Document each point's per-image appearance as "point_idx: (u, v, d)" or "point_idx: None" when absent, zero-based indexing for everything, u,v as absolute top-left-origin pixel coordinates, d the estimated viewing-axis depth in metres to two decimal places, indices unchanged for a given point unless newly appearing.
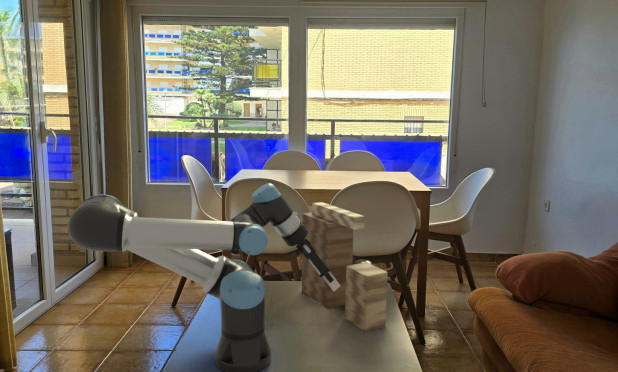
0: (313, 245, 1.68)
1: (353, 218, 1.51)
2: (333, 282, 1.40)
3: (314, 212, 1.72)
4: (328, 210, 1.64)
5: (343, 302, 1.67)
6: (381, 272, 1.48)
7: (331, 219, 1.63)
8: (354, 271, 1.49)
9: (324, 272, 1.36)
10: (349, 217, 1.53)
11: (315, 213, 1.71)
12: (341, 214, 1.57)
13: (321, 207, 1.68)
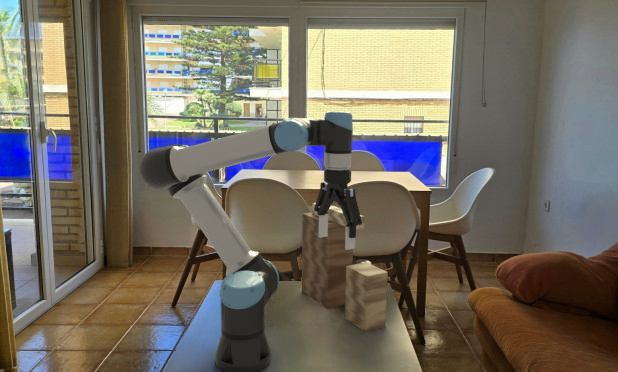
0: (313, 245, 1.68)
1: None
2: (351, 240, 1.28)
3: (314, 212, 1.72)
4: (328, 210, 1.64)
5: (343, 302, 1.67)
6: (381, 272, 1.48)
7: (331, 219, 1.63)
8: (354, 271, 1.49)
9: (357, 222, 1.24)
10: None
11: (315, 213, 1.71)
12: (341, 214, 1.57)
13: None
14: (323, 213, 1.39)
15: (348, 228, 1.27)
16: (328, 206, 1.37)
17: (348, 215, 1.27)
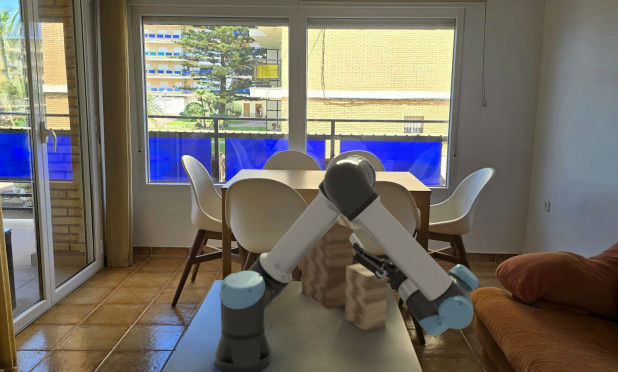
0: None
1: None
2: (354, 242, 1.43)
3: None
4: None
5: (343, 302, 1.67)
6: None
7: None
8: (354, 271, 1.49)
9: (356, 256, 1.38)
10: None
11: None
12: None
13: None
14: None
15: (361, 247, 1.40)
16: None
17: (368, 256, 1.38)
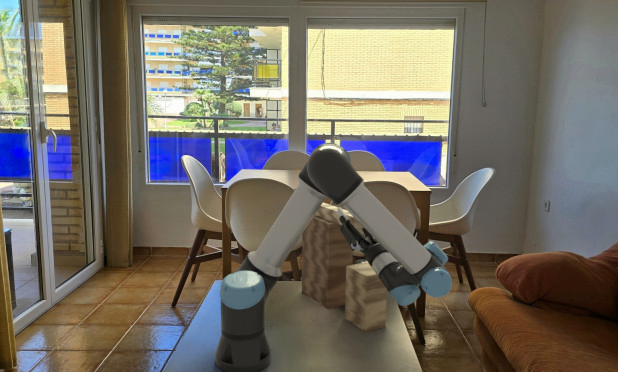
0: (313, 245, 1.68)
1: (353, 218, 1.51)
2: (340, 215, 1.56)
3: None
4: (328, 210, 1.64)
5: (343, 302, 1.67)
6: None
7: (331, 219, 1.63)
8: (354, 271, 1.49)
9: (341, 227, 1.51)
10: (349, 217, 1.53)
11: None
12: None
13: (321, 207, 1.68)
14: None
15: (346, 220, 1.53)
16: (364, 231, 1.53)
17: (350, 228, 1.51)
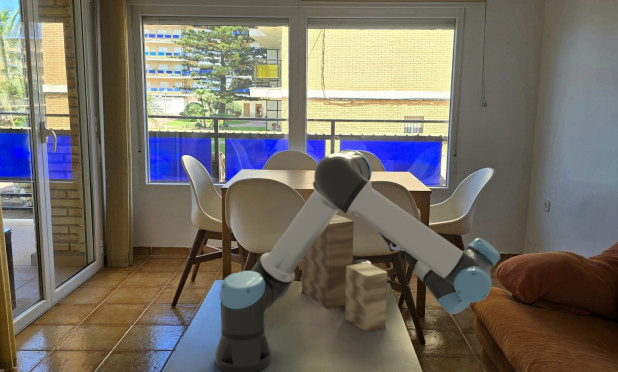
0: (313, 245, 1.68)
1: None
2: None
3: None
4: None
5: (343, 302, 1.67)
6: (381, 272, 1.48)
7: None
8: (354, 271, 1.49)
9: None
10: None
11: None
12: None
13: None
14: None
15: None
16: None
17: None
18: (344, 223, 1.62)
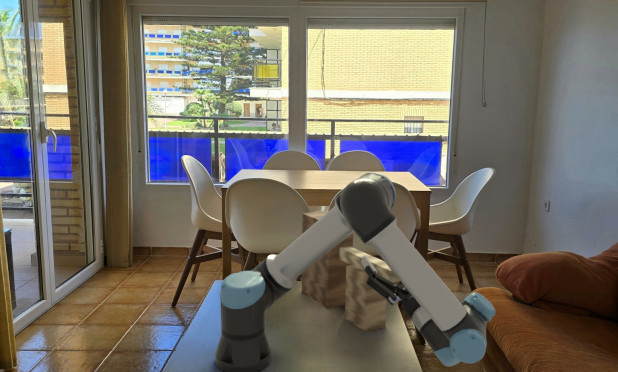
0: None
1: (388, 271, 1.38)
2: (366, 265, 1.39)
3: (341, 258, 1.59)
4: (358, 258, 1.50)
5: (343, 302, 1.67)
6: None
7: (362, 268, 1.49)
8: (354, 271, 1.49)
9: (369, 280, 1.34)
10: (383, 269, 1.40)
11: (342, 258, 1.58)
12: (374, 265, 1.44)
13: (350, 254, 1.54)
14: None
15: (373, 271, 1.36)
16: None
17: (380, 280, 1.34)
18: None
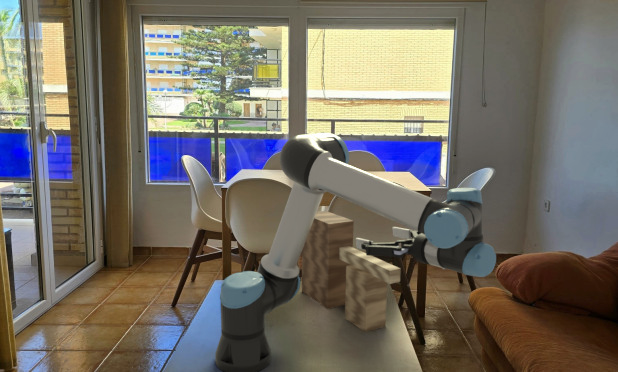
0: (313, 245, 1.68)
1: (388, 271, 1.38)
2: None
3: (341, 258, 1.59)
4: (358, 258, 1.50)
5: (343, 302, 1.67)
6: None
7: (362, 268, 1.49)
8: (354, 271, 1.49)
9: (367, 249, 1.22)
10: (383, 269, 1.40)
11: (342, 258, 1.58)
12: (374, 265, 1.44)
13: (350, 254, 1.54)
14: (411, 235, 1.32)
15: None
16: None
17: (380, 245, 1.22)
18: (344, 223, 1.62)
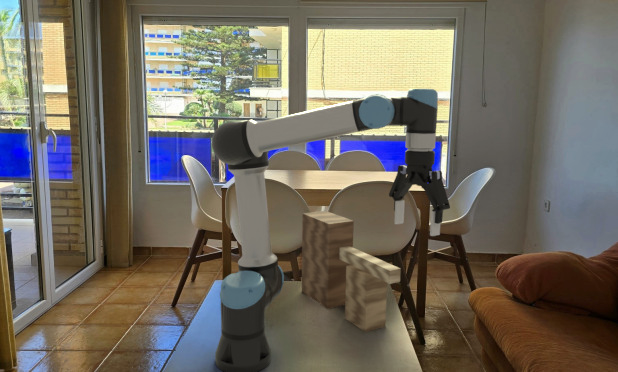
0: (313, 245, 1.68)
1: (388, 271, 1.38)
2: (437, 226, 1.20)
3: (341, 258, 1.59)
4: (358, 258, 1.50)
5: (343, 302, 1.67)
6: None
7: (362, 268, 1.49)
8: (354, 271, 1.49)
9: (445, 206, 1.16)
10: (383, 269, 1.40)
11: (342, 258, 1.58)
12: (374, 265, 1.44)
13: (350, 254, 1.54)
14: (399, 198, 1.31)
15: (434, 213, 1.19)
16: (406, 191, 1.29)
17: (434, 199, 1.19)
18: (344, 223, 1.62)
